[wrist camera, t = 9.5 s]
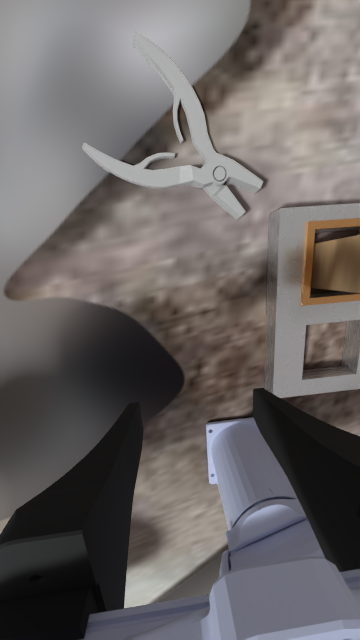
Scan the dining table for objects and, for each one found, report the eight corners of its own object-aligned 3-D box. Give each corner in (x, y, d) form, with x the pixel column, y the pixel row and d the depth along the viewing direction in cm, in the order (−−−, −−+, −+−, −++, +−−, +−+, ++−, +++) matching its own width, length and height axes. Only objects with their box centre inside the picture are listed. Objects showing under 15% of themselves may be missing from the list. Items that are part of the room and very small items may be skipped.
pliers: (135, 14, 15) (286, 147, 17) (138, 38, 16) (276, 157, 19) (76, 144, 16) (223, 247, 19) (83, 155, 18) (218, 249, 21)
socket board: (364, 377, 25) (382, 387, 23) (264, 388, 24) (273, 399, 22) (391, 206, 20) (417, 198, 18) (268, 214, 20) (281, 207, 18)
